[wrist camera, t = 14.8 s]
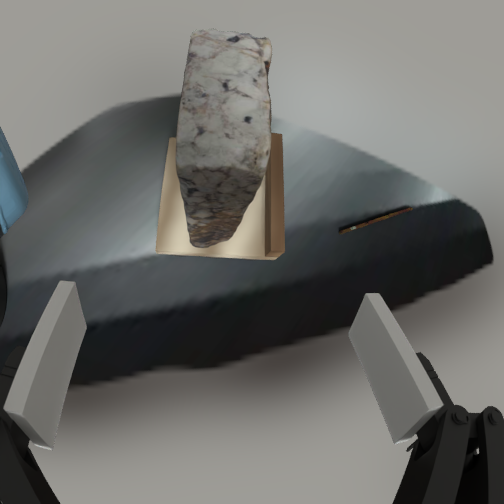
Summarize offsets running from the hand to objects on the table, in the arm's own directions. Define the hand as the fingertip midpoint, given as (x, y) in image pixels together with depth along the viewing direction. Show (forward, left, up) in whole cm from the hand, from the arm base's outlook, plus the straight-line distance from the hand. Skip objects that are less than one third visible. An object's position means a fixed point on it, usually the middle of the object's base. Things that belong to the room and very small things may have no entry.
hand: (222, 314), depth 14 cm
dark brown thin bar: (+25, +15, -26) cm, 40 cm away
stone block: (0, +15, -22) cm, 26 cm away
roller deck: (+1, +15, -26) cm, 30 cm away
